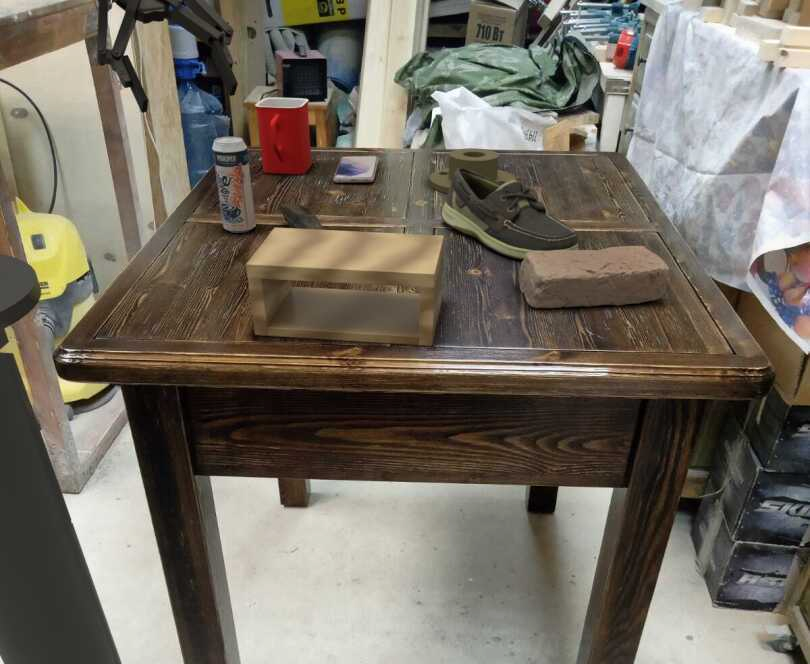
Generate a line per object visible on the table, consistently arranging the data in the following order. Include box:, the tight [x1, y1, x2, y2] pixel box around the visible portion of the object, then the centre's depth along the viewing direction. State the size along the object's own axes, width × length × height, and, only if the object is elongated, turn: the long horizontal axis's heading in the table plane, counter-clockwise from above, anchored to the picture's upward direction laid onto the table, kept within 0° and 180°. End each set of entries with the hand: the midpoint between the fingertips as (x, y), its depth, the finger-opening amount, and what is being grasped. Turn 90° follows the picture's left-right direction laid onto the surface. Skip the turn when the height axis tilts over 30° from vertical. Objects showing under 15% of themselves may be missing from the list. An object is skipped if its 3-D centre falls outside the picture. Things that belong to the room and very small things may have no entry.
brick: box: [518, 245, 670, 309], centre depth 93 cm, size 17×8×5 cm, turn 97°
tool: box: [277, 202, 327, 230], centre depth 108 cm, size 21×8×3 cm, turn 29°
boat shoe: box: [440, 167, 579, 261], centre depth 107 cm, size 10×25×8 cm, turn 45°
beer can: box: [211, 136, 257, 234], centre depth 109 cm, size 5×5×12 cm
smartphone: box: [333, 155, 379, 184], centre depth 137 cm, size 7×1×15 cm
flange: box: [428, 147, 517, 194], centre depth 131 cm, size 5×15×15 cm
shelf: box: [245, 227, 445, 347], centre depth 86 cm, size 20×12×8 cm, turn 83°
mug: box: [254, 96, 313, 176], centre depth 134 cm, size 12×8×11 cm
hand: (190, 98), depth 109 cm, fingers open, 13 cm apart
